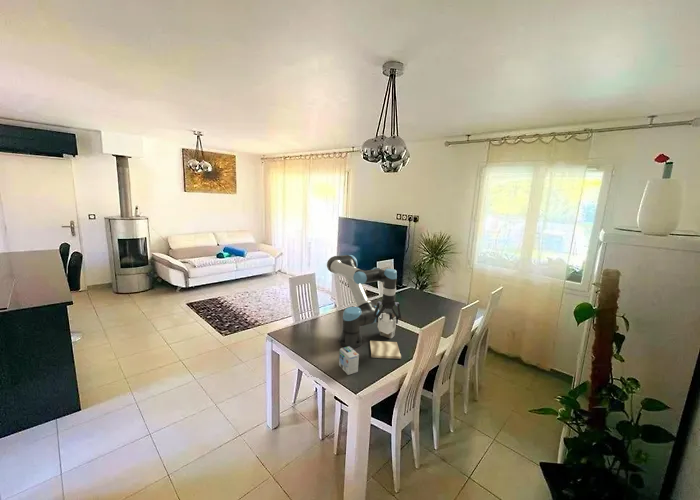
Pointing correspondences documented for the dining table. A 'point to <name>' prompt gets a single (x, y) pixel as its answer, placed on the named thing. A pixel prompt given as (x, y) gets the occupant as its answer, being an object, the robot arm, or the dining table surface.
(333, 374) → the dining table surface
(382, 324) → the medicine bottle
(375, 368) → the dining table surface
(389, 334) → the coffee box
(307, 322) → the dining table surface
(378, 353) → the birch board
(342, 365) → the light bulb box
